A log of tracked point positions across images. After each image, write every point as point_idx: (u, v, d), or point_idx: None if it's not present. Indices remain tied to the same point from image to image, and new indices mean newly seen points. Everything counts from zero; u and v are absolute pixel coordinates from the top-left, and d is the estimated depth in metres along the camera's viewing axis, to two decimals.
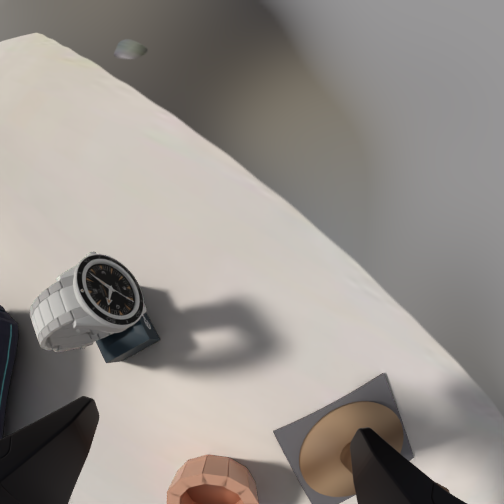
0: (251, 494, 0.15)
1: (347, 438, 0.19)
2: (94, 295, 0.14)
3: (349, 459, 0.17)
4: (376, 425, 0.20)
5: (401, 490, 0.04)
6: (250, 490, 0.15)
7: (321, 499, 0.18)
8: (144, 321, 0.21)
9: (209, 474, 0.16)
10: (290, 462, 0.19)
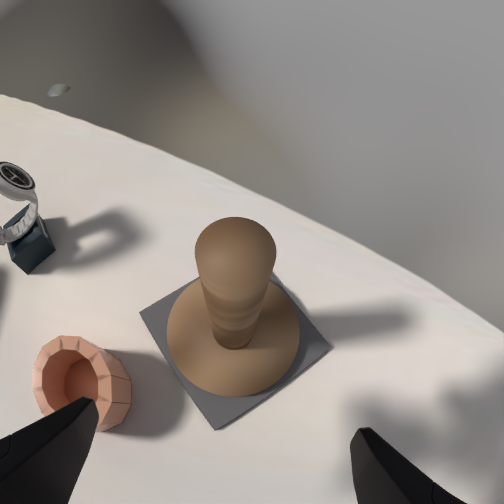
0: (102, 360, 0.16)
1: None
2: (4, 173, 0.16)
3: None
4: None
5: (401, 490, 0.04)
6: (102, 356, 0.16)
7: (212, 405, 0.18)
8: (42, 229, 0.23)
9: (65, 336, 0.16)
10: (161, 348, 0.20)
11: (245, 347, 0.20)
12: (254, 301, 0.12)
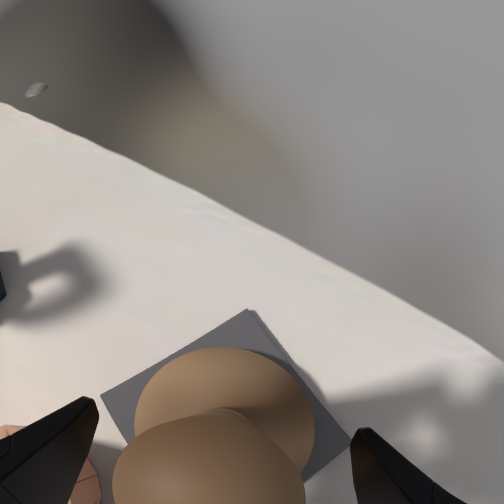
0: None
1: (200, 405, 0.14)
2: None
3: None
4: (247, 384, 0.14)
5: (401, 490, 0.04)
6: None
7: None
8: None
9: (11, 427, 0.09)
10: None
11: None
12: None
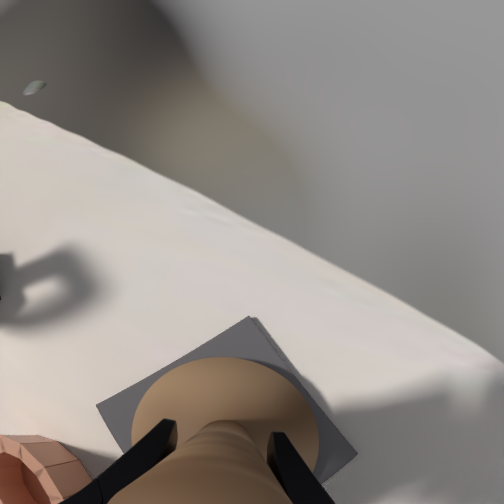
0: (50, 479, 0.07)
1: (199, 418, 0.13)
2: None
3: None
4: (249, 396, 0.14)
5: None
6: (49, 473, 0.08)
7: None
8: None
9: (5, 437, 0.08)
10: None
11: None
12: None
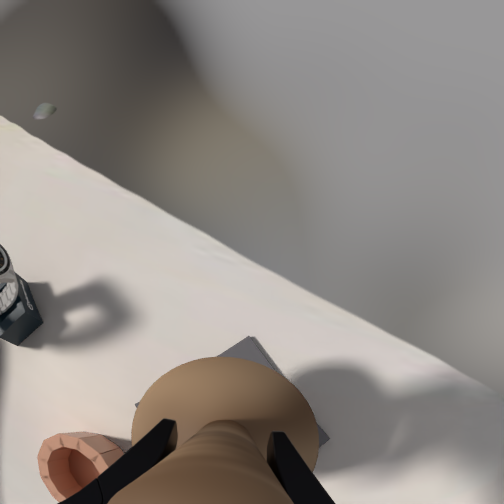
0: (104, 462, 0.13)
1: (199, 417, 0.13)
2: None
3: None
4: (249, 396, 0.14)
5: None
6: (103, 458, 0.13)
7: None
8: (26, 302, 0.20)
9: (64, 435, 0.14)
10: None
11: None
12: None
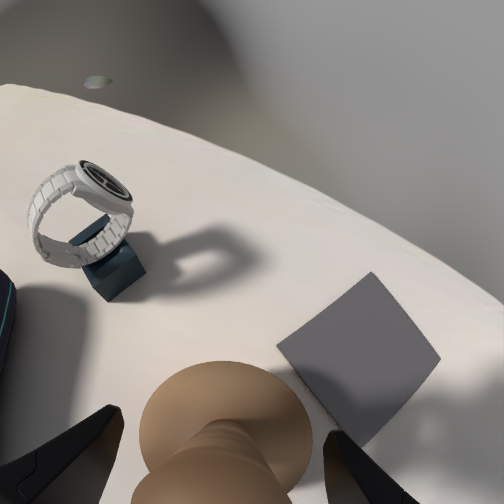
0: None
1: (202, 417, 0.14)
2: None
3: None
4: (248, 397, 0.15)
5: (368, 498, 0.04)
6: None
7: (357, 426, 0.18)
8: None
9: None
10: (305, 379, 0.19)
11: None
12: None
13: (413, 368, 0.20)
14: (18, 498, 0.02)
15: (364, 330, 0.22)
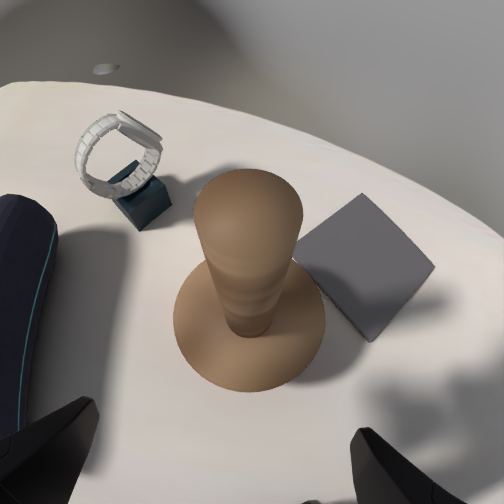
0: None
1: None
2: None
3: None
4: None
5: (401, 490, 0.04)
6: None
7: (366, 319, 0.22)
8: None
9: None
10: (314, 277, 0.24)
11: (264, 334, 0.18)
12: (276, 278, 0.09)
13: (409, 271, 0.24)
14: None
15: (361, 237, 0.26)
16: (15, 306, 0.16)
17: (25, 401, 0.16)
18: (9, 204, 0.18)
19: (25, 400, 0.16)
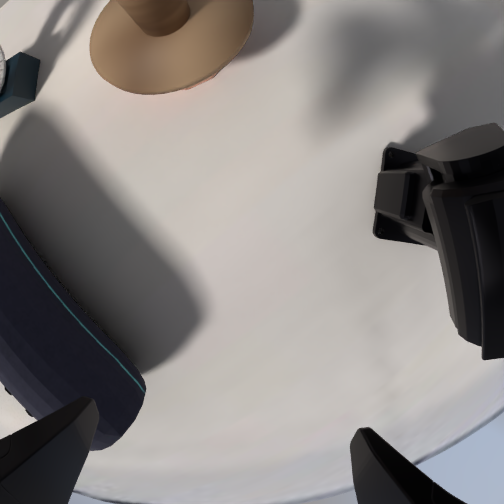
0: None
1: (133, 23, 0.11)
2: None
3: (132, 18, 0.10)
4: None
5: (401, 490, 0.04)
6: None
7: None
8: None
9: None
10: None
11: (191, 15, 0.11)
12: None
13: None
14: None
15: None
16: (2, 257, 0.14)
17: (94, 326, 0.18)
18: None
19: (93, 325, 0.18)
